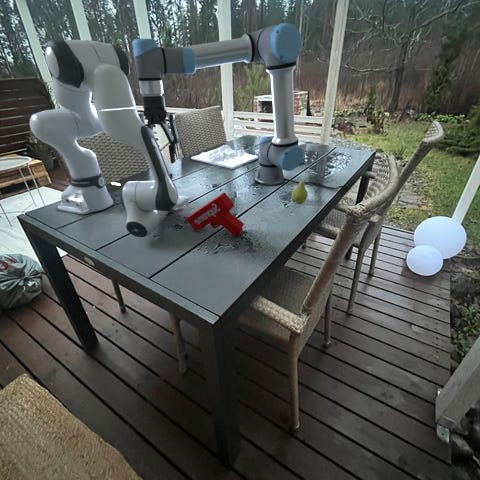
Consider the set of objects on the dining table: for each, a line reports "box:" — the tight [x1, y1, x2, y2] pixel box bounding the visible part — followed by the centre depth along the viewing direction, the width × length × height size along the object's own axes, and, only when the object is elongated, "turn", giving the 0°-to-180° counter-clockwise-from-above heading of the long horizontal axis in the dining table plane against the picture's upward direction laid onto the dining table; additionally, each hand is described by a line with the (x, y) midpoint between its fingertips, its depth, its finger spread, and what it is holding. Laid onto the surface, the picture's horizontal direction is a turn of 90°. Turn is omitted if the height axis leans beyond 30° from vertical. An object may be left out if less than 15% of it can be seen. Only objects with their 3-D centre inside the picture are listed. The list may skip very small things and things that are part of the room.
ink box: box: [298, 141, 308, 164], centre depth 167 cm, size 8×5×12 cm, turn 135°
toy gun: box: [186, 192, 245, 238], centre depth 98 cm, size 18×4×15 cm
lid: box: [168, 170, 174, 180], centre depth 108 cm, size 5×5×2 cm
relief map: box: [190, 144, 259, 170], centre depth 177 cm, size 27×35×5 cm
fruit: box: [291, 174, 311, 204], centre depth 118 cm, size 7×8×12 cm
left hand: (169, 194), depth 113 cm, fingers closed on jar, 4 cm apart
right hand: (163, 161), depth 105 cm, fingers open, 7 cm apart
